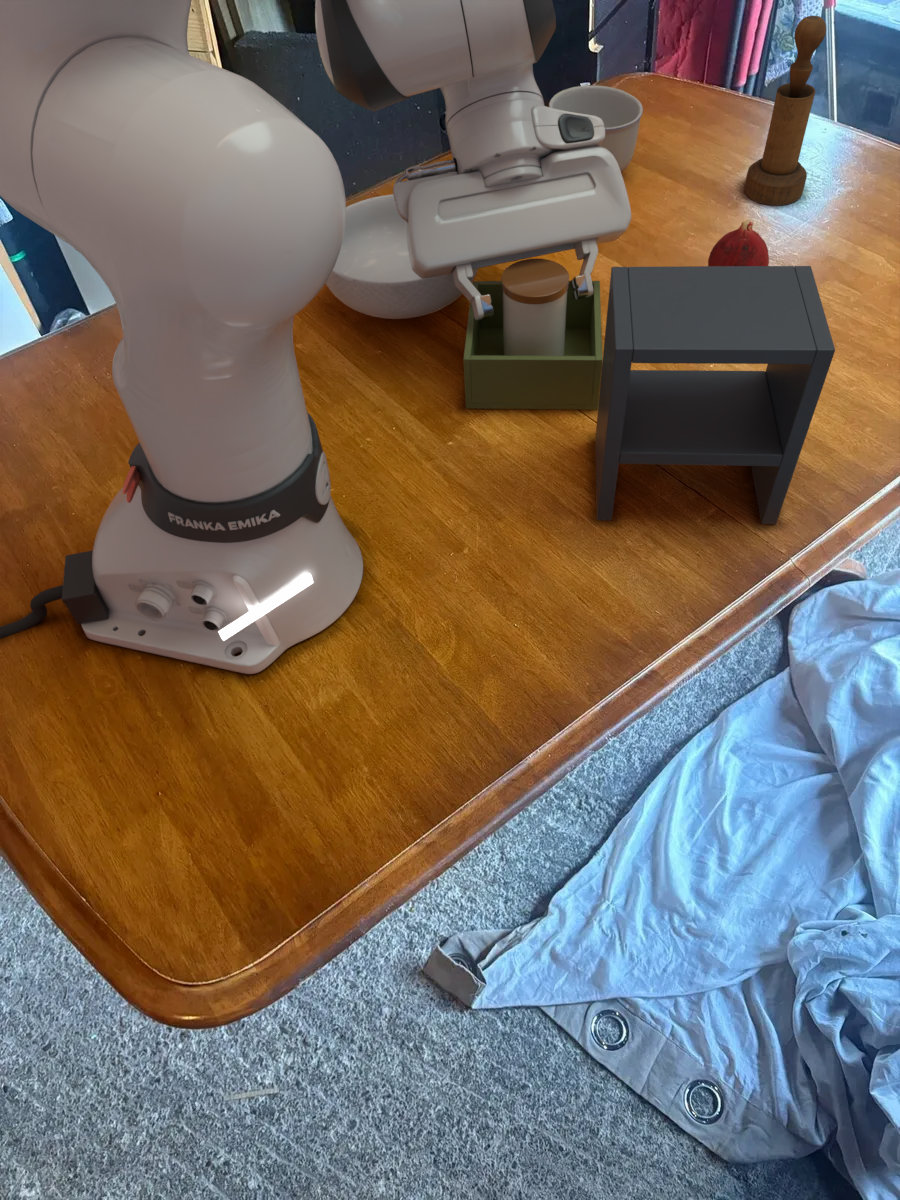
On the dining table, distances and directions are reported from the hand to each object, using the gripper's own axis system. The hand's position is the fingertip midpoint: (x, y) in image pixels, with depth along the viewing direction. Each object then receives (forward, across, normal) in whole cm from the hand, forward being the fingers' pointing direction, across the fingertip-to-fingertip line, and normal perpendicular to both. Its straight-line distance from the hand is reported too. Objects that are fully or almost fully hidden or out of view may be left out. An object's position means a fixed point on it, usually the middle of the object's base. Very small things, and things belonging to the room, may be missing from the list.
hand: (534, 307), depth 81 cm
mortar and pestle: (-11, +37, +20) cm, 43 cm away
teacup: (-19, +17, +28) cm, 38 cm away
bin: (+5, 0, +5) cm, 7 cm away
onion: (+2, +23, +8) cm, 25 cm away
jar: (+4, 0, +5) cm, 6 cm away
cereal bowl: (-6, -9, +17) cm, 20 cm away
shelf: (+18, +7, -8) cm, 21 cm away
